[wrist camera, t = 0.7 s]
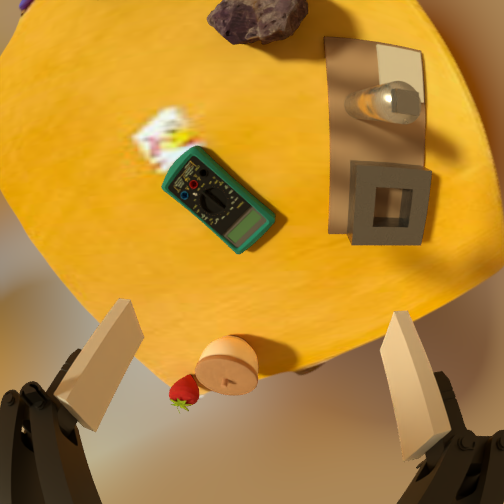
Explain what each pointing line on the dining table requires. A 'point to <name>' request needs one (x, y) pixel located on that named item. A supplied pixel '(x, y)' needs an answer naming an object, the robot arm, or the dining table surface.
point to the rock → (257, 19)
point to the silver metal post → (385, 103)
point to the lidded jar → (228, 366)
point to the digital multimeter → (217, 200)
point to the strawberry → (184, 392)
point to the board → (364, 129)
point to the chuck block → (363, 203)
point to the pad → (400, 67)
